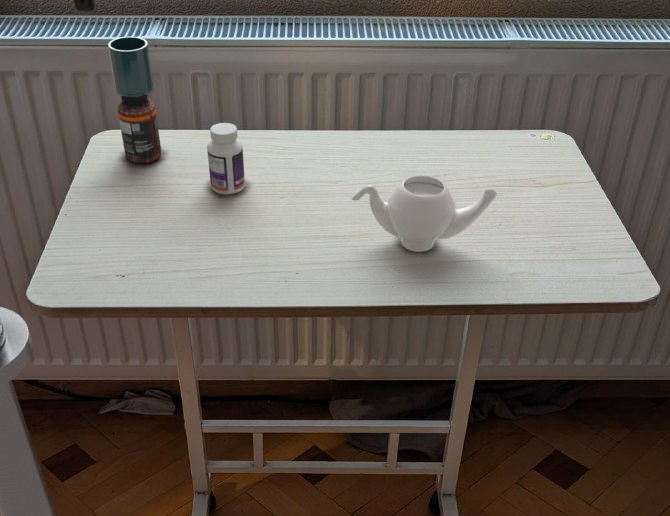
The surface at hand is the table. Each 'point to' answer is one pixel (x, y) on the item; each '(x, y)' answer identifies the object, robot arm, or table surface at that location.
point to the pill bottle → (225, 159)
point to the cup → (131, 66)
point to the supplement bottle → (139, 129)
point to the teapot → (423, 211)
